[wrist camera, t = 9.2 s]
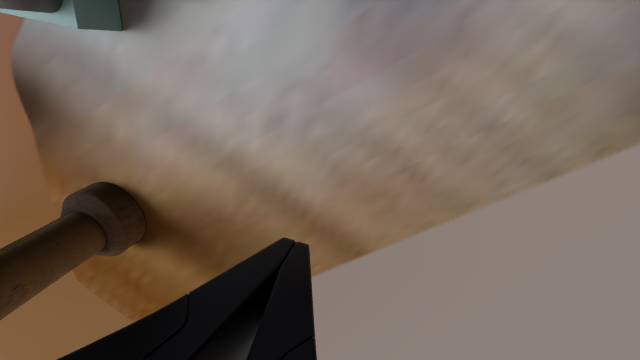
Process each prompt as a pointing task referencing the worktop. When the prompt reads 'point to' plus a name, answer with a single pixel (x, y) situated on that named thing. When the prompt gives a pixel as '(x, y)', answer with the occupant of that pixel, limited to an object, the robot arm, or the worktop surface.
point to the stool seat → (68, 12)
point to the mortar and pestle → (69, 242)
